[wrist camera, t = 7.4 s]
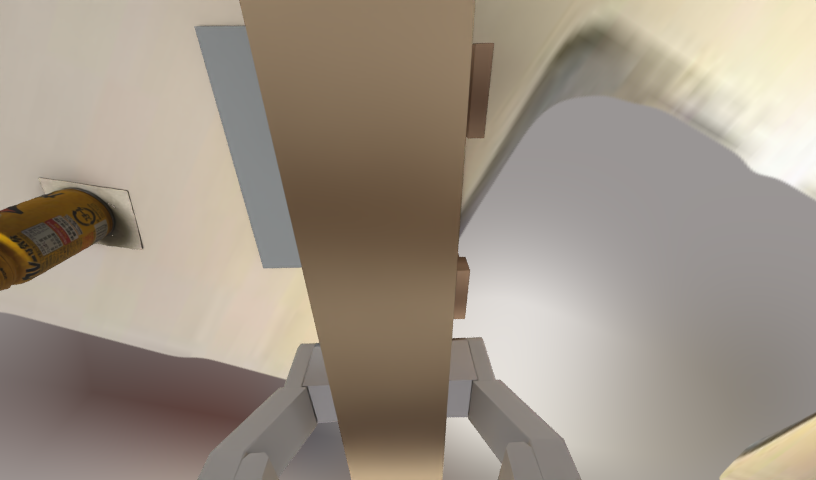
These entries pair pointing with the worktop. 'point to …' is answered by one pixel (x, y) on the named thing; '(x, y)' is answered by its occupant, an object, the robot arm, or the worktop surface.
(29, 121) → the worktop surface
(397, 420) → the rail
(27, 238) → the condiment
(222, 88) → the mat
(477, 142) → the worktop surface
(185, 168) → the worktop surface
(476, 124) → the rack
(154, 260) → the worktop surface
